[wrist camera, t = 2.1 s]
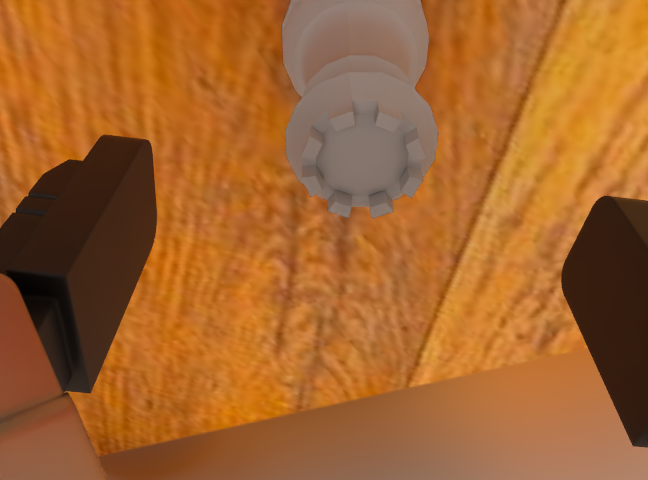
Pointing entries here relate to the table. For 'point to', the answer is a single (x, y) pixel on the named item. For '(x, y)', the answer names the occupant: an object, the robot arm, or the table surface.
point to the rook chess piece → (358, 101)
